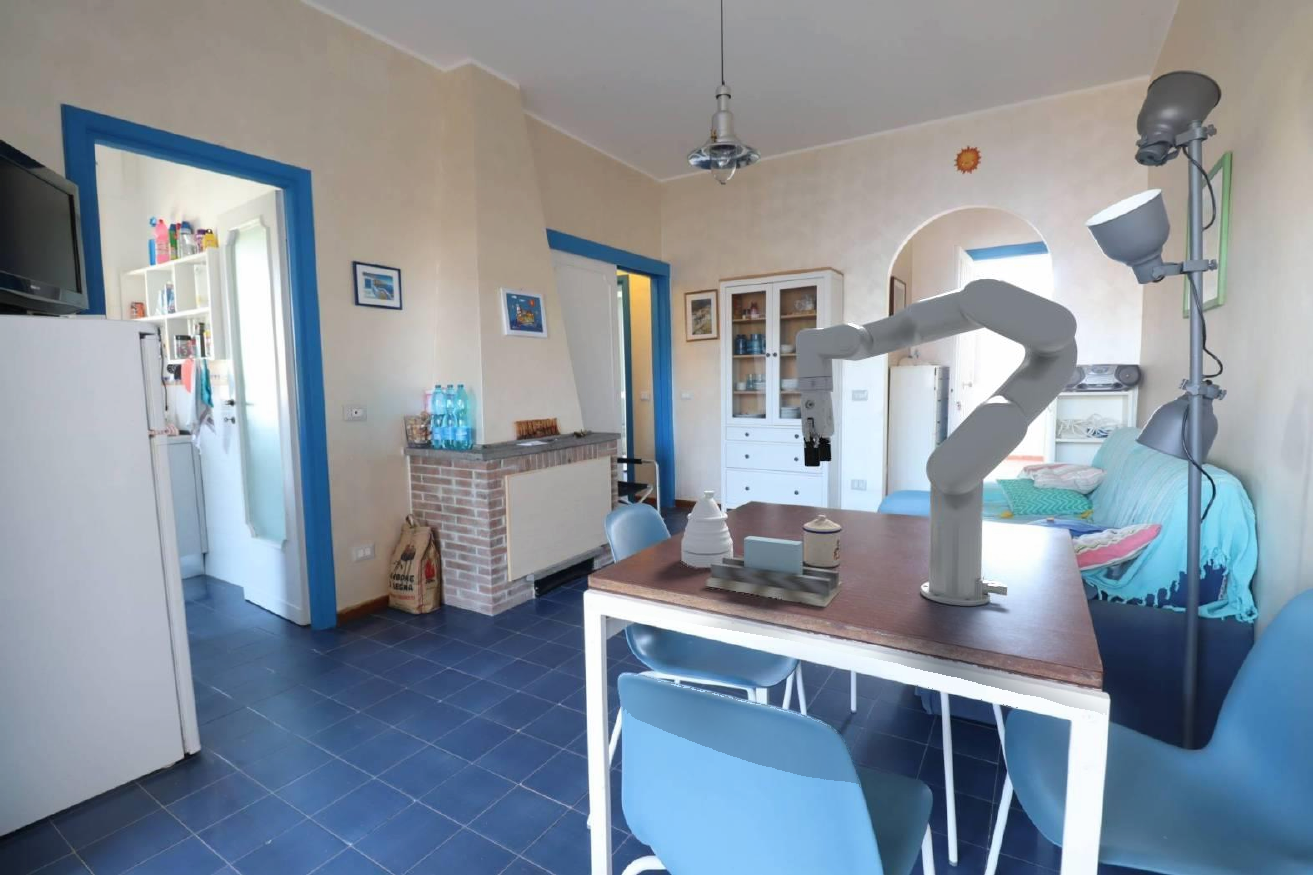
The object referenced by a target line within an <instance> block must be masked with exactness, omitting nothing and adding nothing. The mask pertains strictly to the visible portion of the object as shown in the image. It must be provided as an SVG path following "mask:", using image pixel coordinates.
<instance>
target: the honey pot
mask: <svg viewBox="0 0 1313 875" xmlns="http://www.w3.org/2000/svg"><path fill="white" fill-rule="evenodd" d="M703 493H704V495H702V496H700V498H699V499H698V500H697V501H696V503H695V504H694V506H693V508H692V510H691V513H688V515H686V516H687V520H688V521H687V523H686V526H685V528H684V530H685V531H684V533H683V538H682V539H681V545H680V547H681V552H680V553H681V562H682V561H683V562H685V563H687V564H689V565H692V566H696V567H711V564H712V563H721V564H722V558H723V557H725V556H727V557H734V549H733V547H734V546H733V544H734V542H733V539H732V538H731V533H730V532H729V527H728V525H727V523H726V521H725V520H727V519H728V517H729V516H728V514H727V513H726V512H722V511H721V509H720V507H719V505H718V504H717V502H716V501H715V499H713V498H714V497H715V494H716V493H715V491H714V490H704V492H703Z"/></svg>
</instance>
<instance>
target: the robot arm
mask: <svg viewBox="0 0 1313 875" xmlns="http://www.w3.org/2000/svg"><path fill="white" fill-rule="evenodd" d="M984 328H985V329H987V330H989V331H991V332H993V333H995V334H998V336H999V335H1000V336H1001V337H1003V338H1006V339H1008V340H1010V341H1013V342H1014V343H1016V344H1019V345H1021V346H1023V349H1024V356H1023V360H1022V362H1021V363H1020V365H1019V366H1018V367H1017V368H1016V369H1015V370H1014V371H1012V373H1011V374H1010V375H1009V376H1008V377H1007V379H1006V380H1005V381H1004V382H1003V383H1002V384H1001V385H1000V386H999V387H998V388H997V389H996V390H995V391H994V392H993V393H992V394H991V395H990V396H989V397H988V398H987V399H986V400H984V401H983V402H981V403H980V404H979V405H977V406H976V407H975V408H974V409H973V410H972V411H971V413H970V414H969V415H967V417H966V418H965V419H964V420H963V421H962V422H961V423H960V424H959V425H958V426H957V427H956V428H955V429H954V430H953V431H952V432H951V433H950V434H949V435H948V436H947V437H946V439H944V440H943V442H941V443H940V444H938V446H936V447H935V449H934V450H933V451H932V452H931V453H930V455H929V457H928V459H927V462H926V465H925V467H926V468H925V471H926V473H925V474H926V476H927V477H926V478H927V479H928V481H929V483H930V490H929V491H930V493H929V494H930V495H929V496H930V497H929V539H928V540H929V541H928V542H929V547H928V548H929V550H928V551H929V554H928V556H929V557H928V558H929V559H928V560H929V561H928V562H929V564H928V571H929V572H928V581H927V582H924V583H923V584H921V586H920V593H921V595H922V596H923V597H925V598H926V599H929V600H931V601H933V602H938V603H941V604H945V605H952V606H960V607H961V606H962V607H963V606H964V607H966V606H967V607H970V606H971V607H974V606H981V605H985V604H987V603H989V602H990V600H991V594H995V595H1000V596H1008V585H1006V584H1002V583H1001V582H998V581H988V579H985V573H984V572H983V573H982V569H983V568H982V566H983V565H982V561H983V560H982V558H983V556H982V555H983V517H984V516H983V512H984V508H983V507H984V504H983V503H984V480H985V479H986V478H987V477H988V476H989V475H990V474H991V473H992V472H993V471H994V470H995V469H996V468H997V467H999V466H1000V464H1001V463H1002V462H1003V461H1004V460H1005V459H1006V458H1007V457H1008V456H1009V455H1010V454H1011V453H1012V452H1014V450H1016V449H1017V448H1018V447H1019V445H1020V444H1021V443H1022V442H1023V440H1025V437H1026V435H1027V432H1028V429H1029V427H1030V425H1031V424H1032V423H1033V422H1034V421H1035V420H1036V419H1037V418H1038V417H1039V416H1041V415H1042V414H1043V412H1044V411H1045V410H1046V409H1047V408H1048V407H1049V406H1050V405H1051V403H1053V402H1054V401H1055V400H1056V398H1057V397H1058V396H1059V395H1060V394H1061V393H1062V392H1063V390H1064V389H1065V388H1066V387H1067V386H1068V385H1069V383H1070V381H1071V379H1072V377H1073V376H1074V373H1075V371H1076V368H1077V362H1078V345H1077V344H1078V343H1077V340H1076V338H1075V336H1076V334H1077V329H1078V324H1077V319H1076V317H1075V315H1074V314H1073V313H1072V311H1071V310H1069V309H1068V308H1067V307H1066V306H1064V305H1061V304H1060V303H1058V302H1056V301H1054V300H1051V299H1048V298H1046V297H1043V296H1040V295H1038V294H1036V293H1034V292H1032V291H1028V290H1026V289H1024V288H1022V287H1019V286H1017V285H1015V284H1012V283H1010V282H1008V281H1006V280H1003V279H1001V278H998V277H995V276H981V277H978V278H975V279H972V281H969V282H968V283H967V284H966V285H965V286H964V287H962V288H957V289H954V290H953V291H948V292H945V293H941V294H938V295H935V296H931V297H928V298H924V299H923V298H922V299H920V300H917V301H914V302H912V303H910V304H908V305H907V306H905V307H904V308H903V309H901V310H900V311H899V312H897V313H894V314H892V315H890V316H887V317H884V318H882V319H881V318H880V319H879V320H875V321H872V322H869V323H864V324H861V325H857V324H854V323H842V324H841V323H840V324H837V325H833V326H829V327H825V328H824V327H823V328H822V327H821V328H820V327H817V328H807V329H801V330H799V331H798V332H797V333H796V336H795V355H796V356H795V357H796V376H797V394H801V401H800V402H801V403H800V404H801V405H800V406H801V407H800V408H801V409H800V412H801V415H800V417H801V419H800V420H801V423H800V424H801V434H802V436H803V438H802V439H803V456H804V458H803V461H804V466H805V467H809V468H810V467H812V468H813V467H815V468H818V467H820V466H821V462H831V461H832V444H831V442H832V441H831V440H832V439H831V437H832V436H833V435H835V421H834V420H835V418H834V411H833V410H834V408H833V400H832V394H831V392H834V376H833V360H843V361H844V360H845V361H855V362H856V361H857V362H858V361H862V360H866V359H869V358H874V357H878V356H881V355H885V354H890V353H893V352H896V351H899V350H903V349H906V348H911V347H913V348H914V347H917V346H921V345H923V344H927V343H931V342H934V341H938V340H943V339H946V338H949V337H953V336H956V335H961V334H965V333H969V332H972V331H977V330H980V329H984Z"/></svg>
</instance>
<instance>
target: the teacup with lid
mask: <svg viewBox="0 0 1313 875" xmlns="http://www.w3.org/2000/svg"><path fill="white" fill-rule="evenodd" d="M802 530H803V562H804V563H805V564H807V565H809V566H812V567H815V568H832V567H838V566H839V565H840V564H841V559H842V558H841V548H842V547H841V545H842V544H841V543H842V542H841V540H842V539H841V532H842V527H841V525H840V524H838V523H835V522H833V521H832V520H829V519H827V516H826V515H824V514H819V515H818V516H817V518H815V519H813V520H812V521H809V522H806V523H804V525H803V526H802Z"/></svg>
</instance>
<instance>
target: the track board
mask: <svg viewBox="0 0 1313 875" xmlns="http://www.w3.org/2000/svg"><path fill="white" fill-rule="evenodd" d="M839 574H840V571H838V570H832V569H826V568H825V569H823V568H818V567H810V566H809V567H808V566H803V575H800V574H793V573H785V572H778V571H771V570H764V569H757V568H750V567H744V558H742V557H734V556H733V557H727V556H725V557H723V558H722V564H721V563H712V564H711V569H710V576H711V577H709V578H708V579H706V581H705V582H706V584H705V585H706V586H710V587H719V588H723V589H727V590H732V591H736V592H735V593H738V592H745V593H750V594H754V595H753V596H756V595H759V596H758V597H762V596H763V598H768V597H772V598H771V599H775V598H777V600H781V599H782V601H786V602H787V601H788V602H794V603H799V602H801V603H800V604H806V605H811V606H812V605H813V606H818V607H823V608H825V607H826V606H828V605H829V603H830V602H831V601H832V600H833V599H834V598H835V597H836V596H837V595H838V593H840V592H841V590H843V582H842V581H840V577H839ZM732 591H731V592H732ZM750 594H749V595H750Z"/></svg>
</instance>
